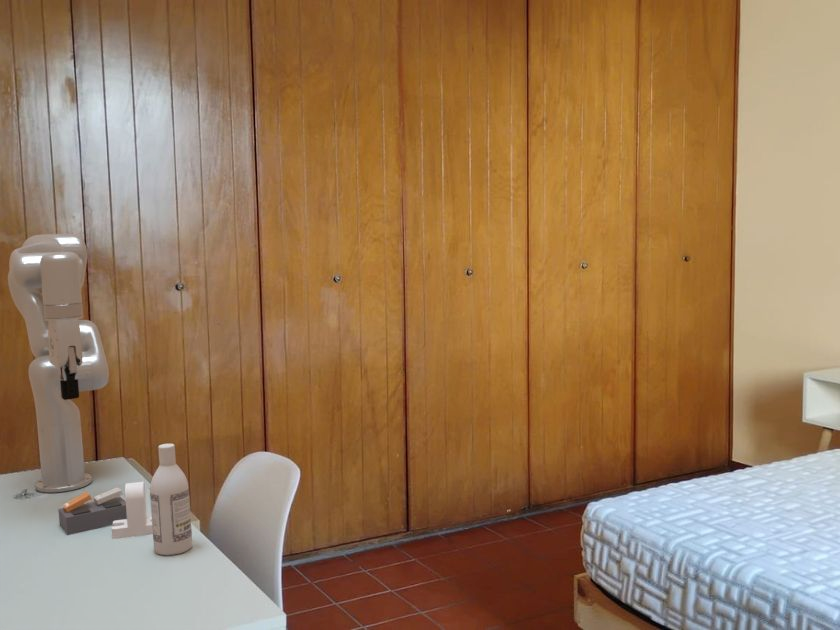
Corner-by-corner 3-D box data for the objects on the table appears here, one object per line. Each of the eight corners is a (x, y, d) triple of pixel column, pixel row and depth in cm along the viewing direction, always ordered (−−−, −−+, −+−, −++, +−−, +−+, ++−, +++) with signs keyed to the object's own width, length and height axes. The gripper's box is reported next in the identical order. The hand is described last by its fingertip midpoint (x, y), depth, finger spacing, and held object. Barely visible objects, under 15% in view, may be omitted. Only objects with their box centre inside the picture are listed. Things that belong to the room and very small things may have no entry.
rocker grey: (94, 501, 176) (93, 496, 176) (119, 491, 179) (117, 486, 178) (98, 504, 174) (96, 499, 173) (122, 494, 176) (121, 489, 176)
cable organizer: (114, 530, 170) (110, 482, 169) (165, 523, 172) (161, 476, 171) (111, 539, 165) (108, 489, 163) (164, 532, 167) (161, 483, 166)
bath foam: (196, 541, 161) (190, 439, 159) (186, 555, 155) (179, 449, 152) (161, 542, 162) (153, 441, 159) (149, 557, 155) (141, 450, 153)
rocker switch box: (57, 522, 175) (55, 504, 175) (117, 509, 182) (116, 492, 182) (67, 534, 168) (65, 516, 167) (130, 520, 175) (129, 503, 174)
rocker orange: (64, 509, 173) (62, 504, 172) (88, 495, 175) (86, 491, 175) (67, 512, 170) (65, 508, 170) (91, 499, 173) (89, 494, 173)
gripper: (37, 311, 180) (44, 395, 182) (52, 316, 168) (59, 406, 170) (74, 308, 184) (80, 391, 186) (91, 313, 172) (98, 401, 174)
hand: (70, 398), depth 178 cm, fingers closed
